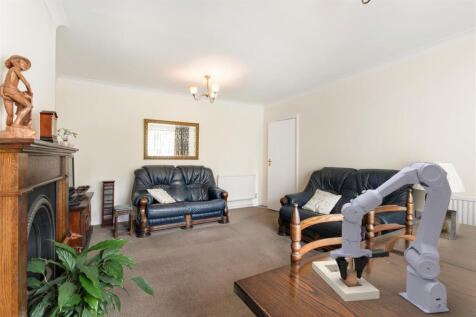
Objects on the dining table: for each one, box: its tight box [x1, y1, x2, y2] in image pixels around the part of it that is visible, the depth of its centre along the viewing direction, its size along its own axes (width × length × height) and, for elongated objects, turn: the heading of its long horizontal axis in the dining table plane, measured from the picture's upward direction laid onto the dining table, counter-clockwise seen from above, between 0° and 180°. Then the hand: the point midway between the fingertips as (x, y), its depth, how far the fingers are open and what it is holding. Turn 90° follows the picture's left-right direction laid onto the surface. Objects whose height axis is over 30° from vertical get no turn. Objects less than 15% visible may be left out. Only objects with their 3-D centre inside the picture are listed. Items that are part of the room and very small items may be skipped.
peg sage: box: [352, 258, 365, 273], centre depth 92 cm, size 4×4×6 cm
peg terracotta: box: [344, 267, 357, 287], centre depth 78 cm, size 4×4×6 cm
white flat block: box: [311, 259, 380, 303], centre depth 83 cm, size 22×12×2 cm, turn 9°
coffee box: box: [439, 208, 458, 241], centre depth 132 cm, size 9×6×16 cm
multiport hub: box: [366, 248, 390, 259], centre depth 106 cm, size 4×14×2 cm, turn 101°
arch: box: [384, 234, 442, 268], centre depth 103 cm, size 6×20×10 cm, turn 25°
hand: (350, 278), depth 78 cm, fingers open, 5 cm apart
